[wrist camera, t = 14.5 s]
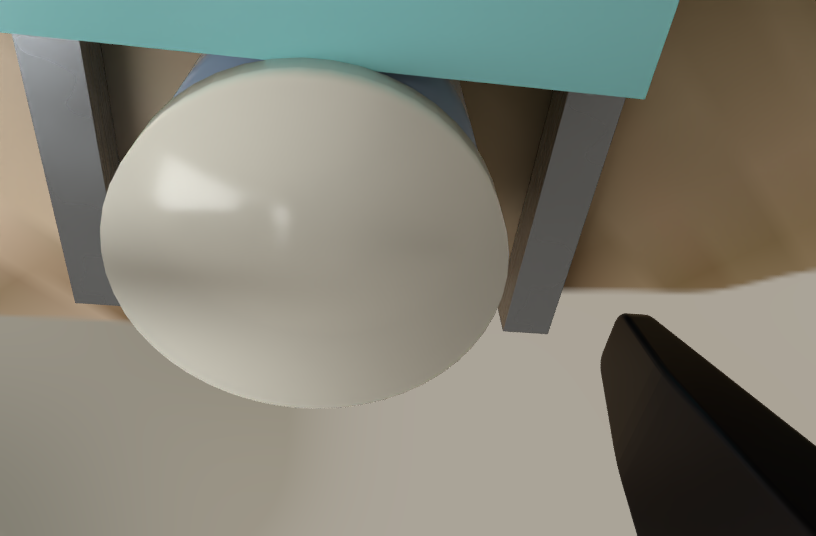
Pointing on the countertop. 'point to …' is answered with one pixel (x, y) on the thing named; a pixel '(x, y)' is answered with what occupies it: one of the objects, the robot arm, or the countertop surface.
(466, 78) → the teal foam pad
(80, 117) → the gray u-shaped archway
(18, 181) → the countertop surface
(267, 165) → the jar
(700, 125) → the countertop surface
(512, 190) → the countertop surface
